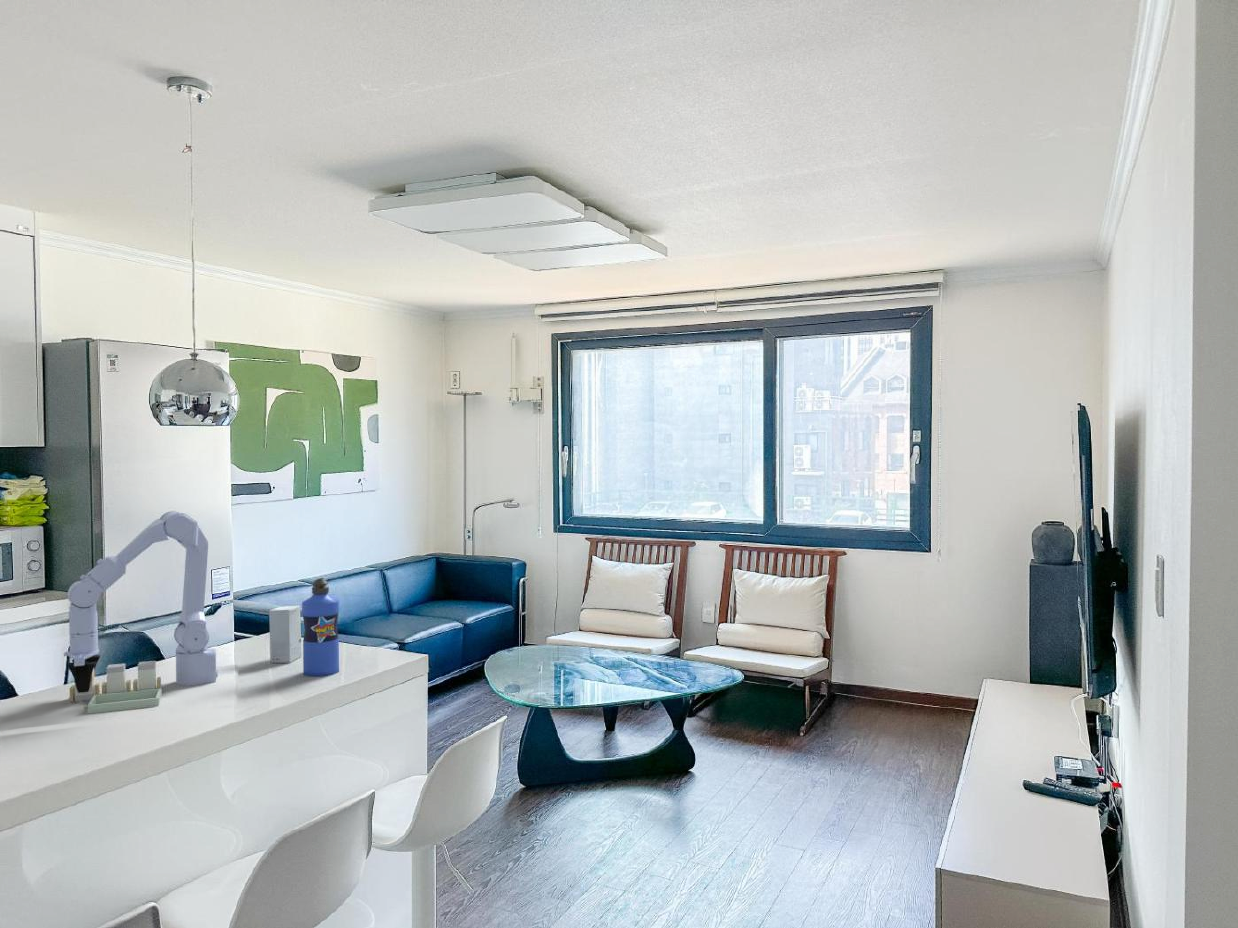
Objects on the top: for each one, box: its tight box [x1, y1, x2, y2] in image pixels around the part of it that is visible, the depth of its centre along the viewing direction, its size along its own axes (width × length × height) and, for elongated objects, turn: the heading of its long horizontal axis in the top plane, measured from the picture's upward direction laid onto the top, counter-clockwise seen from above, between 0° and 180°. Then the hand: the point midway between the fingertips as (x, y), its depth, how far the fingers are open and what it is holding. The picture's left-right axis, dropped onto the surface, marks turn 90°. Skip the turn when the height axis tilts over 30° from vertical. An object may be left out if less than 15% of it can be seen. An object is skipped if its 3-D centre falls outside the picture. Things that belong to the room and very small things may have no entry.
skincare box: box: [268, 605, 303, 664], centre depth 247 cm, size 8×6×15 cm
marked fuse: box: [73, 669, 95, 701], centre depth 206 cm, size 4×4×7 cm
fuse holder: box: [64, 676, 165, 705], centre depth 209 cm, size 20×6×4 cm, turn 113°
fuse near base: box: [137, 660, 157, 691], centre depth 211 cm, size 4×4×7 cm
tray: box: [87, 688, 163, 714], centre depth 201 cm, size 14×9×3 cm, turn 113°
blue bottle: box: [301, 577, 340, 678], centre depth 233 cm, size 9×9×25 cm
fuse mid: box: [105, 663, 127, 694], centre depth 209 cm, size 4×4×7 cm
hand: (84, 689), depth 206 cm, fingers closed on marked fuse, 3 cm apart
